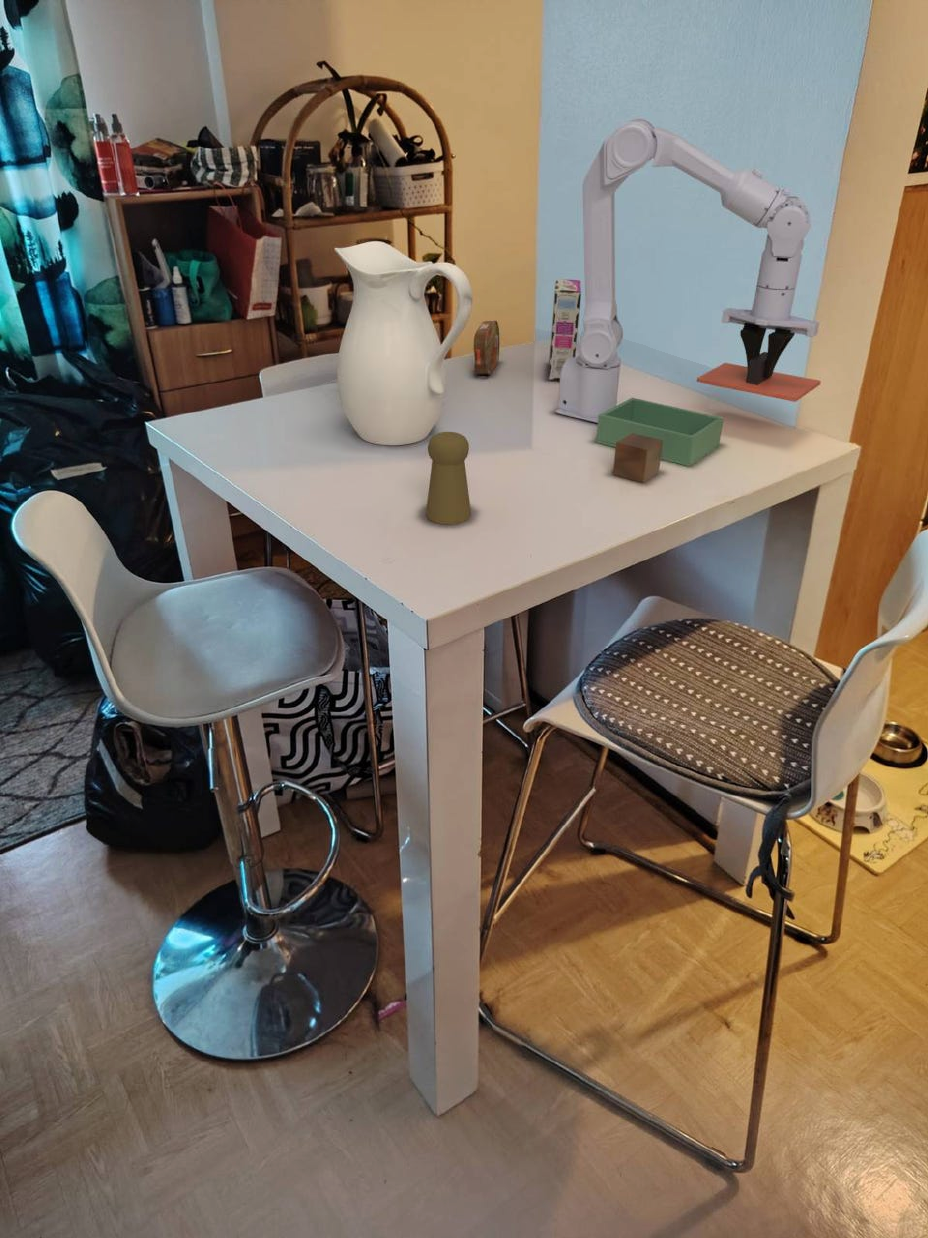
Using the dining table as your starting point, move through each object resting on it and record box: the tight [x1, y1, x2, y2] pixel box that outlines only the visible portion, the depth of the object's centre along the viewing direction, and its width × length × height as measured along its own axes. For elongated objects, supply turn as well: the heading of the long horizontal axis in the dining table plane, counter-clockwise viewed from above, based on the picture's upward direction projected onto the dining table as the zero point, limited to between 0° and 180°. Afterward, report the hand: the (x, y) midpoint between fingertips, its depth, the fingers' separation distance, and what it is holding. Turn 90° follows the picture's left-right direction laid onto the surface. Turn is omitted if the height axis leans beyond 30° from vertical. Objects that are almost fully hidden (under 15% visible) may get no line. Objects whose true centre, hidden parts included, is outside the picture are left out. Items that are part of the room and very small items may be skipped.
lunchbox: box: [595, 397, 725, 467], centre depth 140 cm, size 16×11×4 cm
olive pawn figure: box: [425, 431, 472, 525], centre depth 115 cm, size 6×6×11 cm
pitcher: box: [333, 240, 473, 446], centre depth 134 cm, size 24×17×28 cm
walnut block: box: [612, 433, 663, 484], centre depth 129 cm, size 5×5×5 cm
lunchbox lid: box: [696, 351, 821, 403], centre depth 142 cm, size 16×11×4 cm
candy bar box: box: [548, 278, 582, 382], centre depth 168 cm, size 11×5×16 cm, turn 174°
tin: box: [473, 320, 500, 376], centre depth 172 cm, size 15×3×8 cm, turn 168°
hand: (759, 374), depth 142 cm, fingers closed on lunchbox lid, 2 cm apart
